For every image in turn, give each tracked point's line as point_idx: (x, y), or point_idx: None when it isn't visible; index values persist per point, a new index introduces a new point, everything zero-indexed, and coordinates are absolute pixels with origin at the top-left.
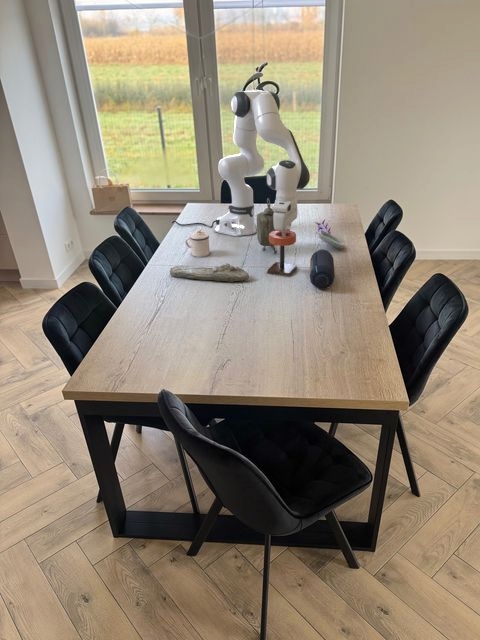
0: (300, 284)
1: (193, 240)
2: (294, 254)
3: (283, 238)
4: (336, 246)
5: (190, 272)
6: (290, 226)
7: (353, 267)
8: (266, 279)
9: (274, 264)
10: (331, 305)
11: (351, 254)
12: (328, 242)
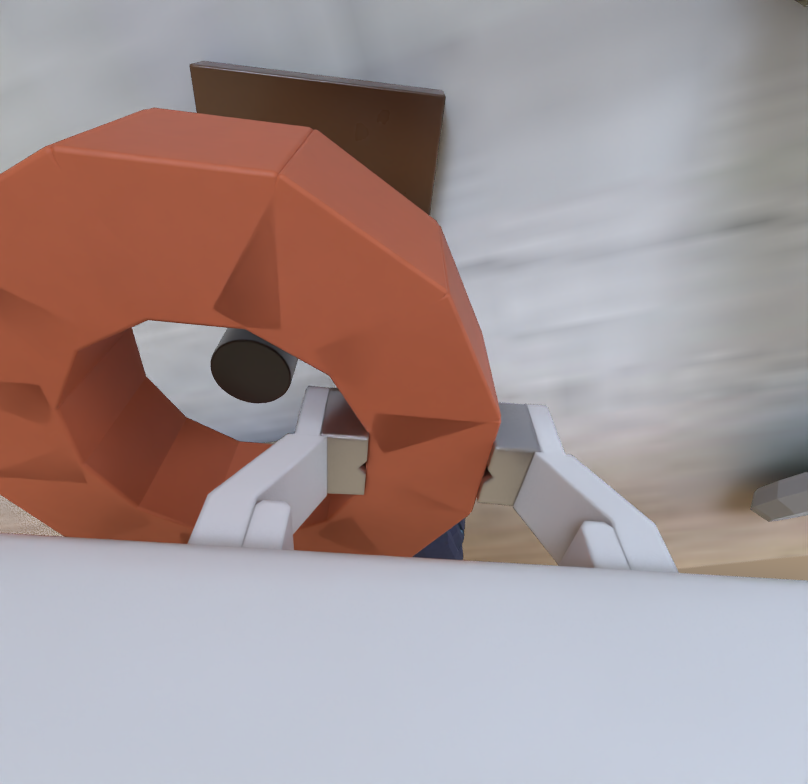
0: (152, 379)
1: None
2: (743, 217)
3: (16, 500)
4: (753, 504)
5: None
6: (557, 551)
7: (495, 549)
8: (61, 100)
9: (369, 104)
10: (29, 526)
11: (684, 530)
12: (783, 492)
